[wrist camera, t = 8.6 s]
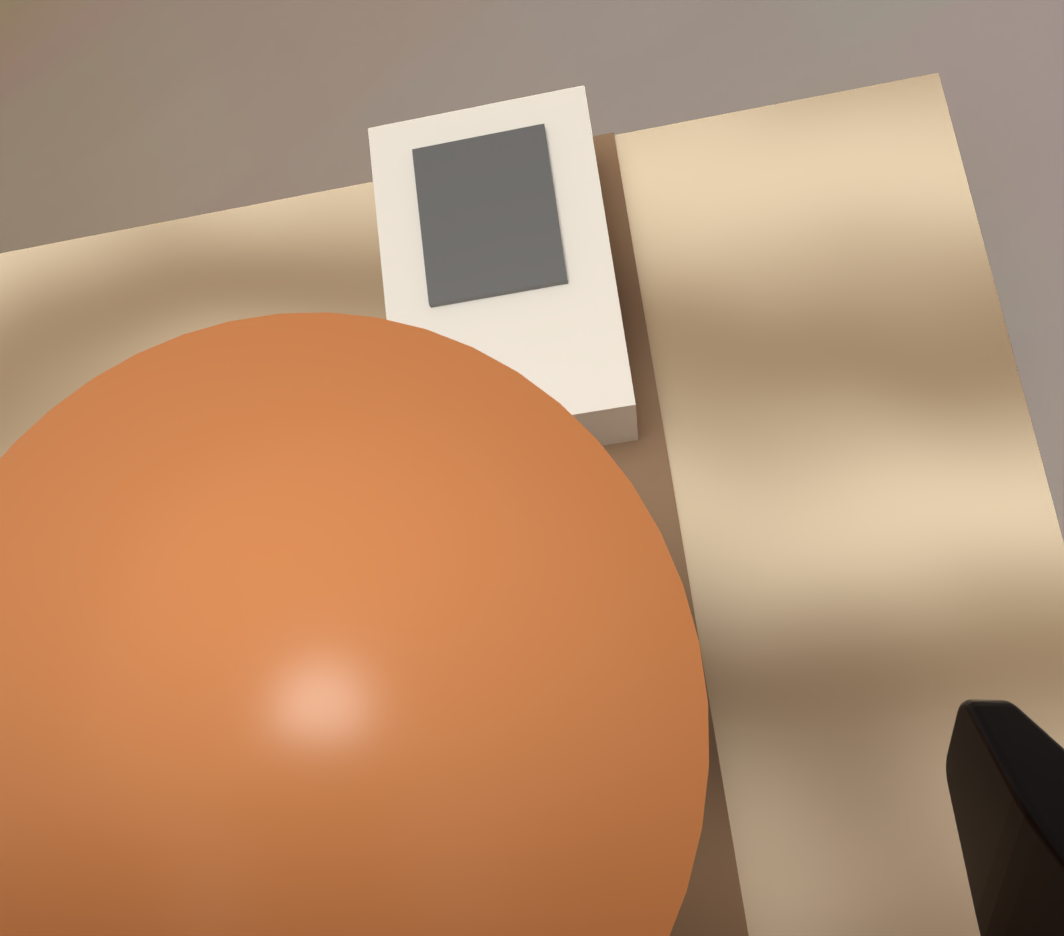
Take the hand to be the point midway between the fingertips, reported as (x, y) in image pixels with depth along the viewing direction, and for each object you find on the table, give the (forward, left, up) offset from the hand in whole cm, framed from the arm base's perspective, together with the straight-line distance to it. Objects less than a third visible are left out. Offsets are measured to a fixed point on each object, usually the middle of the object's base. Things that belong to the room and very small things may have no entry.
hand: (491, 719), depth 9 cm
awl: (0, 0, -7) cm, 7 cm away
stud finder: (+7, 0, -7) cm, 10 cm away
